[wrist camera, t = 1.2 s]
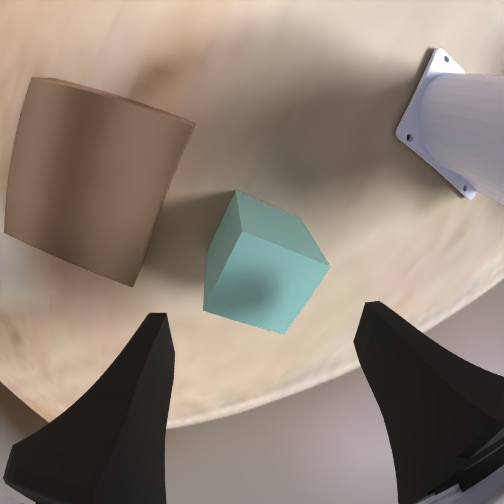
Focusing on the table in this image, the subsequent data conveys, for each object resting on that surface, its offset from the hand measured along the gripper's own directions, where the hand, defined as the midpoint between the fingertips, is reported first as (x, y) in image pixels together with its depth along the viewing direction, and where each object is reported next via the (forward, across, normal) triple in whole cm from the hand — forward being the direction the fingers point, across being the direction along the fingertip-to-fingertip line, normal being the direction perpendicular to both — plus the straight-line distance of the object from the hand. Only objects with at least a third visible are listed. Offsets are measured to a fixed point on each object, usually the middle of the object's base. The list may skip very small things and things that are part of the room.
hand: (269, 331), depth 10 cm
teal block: (+10, 0, +1) cm, 10 cm away
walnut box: (+10, +10, -4) cm, 14 cm away
